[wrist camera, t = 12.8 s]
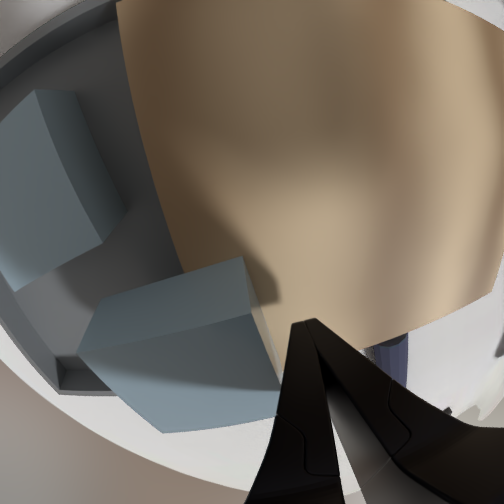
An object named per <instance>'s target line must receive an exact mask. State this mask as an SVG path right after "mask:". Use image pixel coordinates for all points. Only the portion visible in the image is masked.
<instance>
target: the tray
mask: <svg viewBox="0 0 504 504" xmlns="http://www.w3.org/2000/svg"><path fill="white" fill-rule="evenodd" d="M119 1H122V0H85V1H83V2H81V3H80V4H78V5H76V6H74V7H72V8H70V9H68V10H67V11H65V12H63V13H62V14H60V15H58V16H56V17H55V18H53V19H52V20H50V21H48V22H47V23H45V24H44V25H42V26H41V27H39V28H38V29H36V30H35V31H34V32H32V33H31V34H29V35H28V36H27V37H25V38H24V39H22V40H21V41H20V42H19V43H17V44H16V45H15V46H13V47H12V48H11V49H10V50H8V51H7V52H6V53H5V54H4V55H3V56H1V57H0V123H1V122H2V120H3V119H4V118H5V117H6V116H7V115H8V114H9V113H10V112H11V111H12V110H13V109H14V108H15V107H16V106H17V105H18V104H19V103H20V102H21V101H22V100H23V99H24V98H25V97H26V96H28V95H29V94H30V93H31V92H32V91H33V90H34V89H38V90H65V91H74V92H75V94H76V97H77V100H78V102H79V105H80V108H81V110H82V113H83V115H84V118H85V120H86V123H87V125H88V128H89V130H90V133H91V135H92V137H93V140H94V142H95V144H96V147H97V149H98V151H99V153H100V156H101V158H102V160H103V162H104V164H105V167H106V169H107V171H108V173H109V175H110V177H111V179H112V181H113V183H114V186H115V188H116V190H117V192H118V194H119V196H120V198H121V200H122V202H123V203H124V205H125V207H126V209H127V211H128V212H127V213H126V215H125V216H124V217H123V218H122V220H121V221H120V222H119V223H118V224H117V226H116V227H115V228H114V230H113V231H112V232H111V233H110V235H109V236H108V237H107V239H106V240H105V241H104V243H102V244H100V245H98V246H96V247H94V248H92V249H90V250H89V251H87V252H85V253H83V254H81V255H79V256H77V257H75V258H73V259H71V260H70V261H68V262H66V263H64V264H62V265H60V266H59V267H57V268H55V269H53V270H51V271H50V272H48V273H46V274H44V275H43V276H41V277H39V278H37V279H36V280H34V281H32V282H31V283H29V284H27V285H25V286H24V287H22V288H20V289H19V290H17V291H16V292H14V291H13V289H12V288H11V286H10V285H9V283H8V282H7V280H6V279H5V277H4V276H3V274H2V272H1V271H0V324H1V326H2V327H3V328H4V330H5V331H6V333H7V334H8V335H9V337H10V338H11V340H12V341H13V342H14V344H15V345H16V346H17V347H18V349H19V350H20V351H21V353H22V354H23V355H24V356H25V358H26V359H27V360H28V361H29V362H30V364H31V365H32V366H33V367H34V368H35V369H36V370H37V372H38V373H39V374H40V375H41V376H42V377H43V378H44V379H45V380H46V382H47V383H48V384H49V385H50V386H51V387H52V388H53V389H54V390H55V391H56V392H57V393H58V394H59V395H76V396H117V395H116V394H115V393H114V392H113V391H112V390H111V389H110V388H109V387H108V386H107V385H106V384H105V383H104V382H103V381H102V380H101V379H100V378H99V377H98V376H97V375H96V374H95V373H94V372H93V371H92V370H91V369H90V368H89V367H88V366H87V365H86V363H85V362H84V361H83V360H82V359H81V358H80V357H79V356H78V355H77V353H76V351H77V349H78V347H79V344H80V342H81V340H82V338H83V336H84V333H85V331H86V329H87V327H88V325H89V323H90V321H91V318H92V316H93V314H94V312H95V310H96V308H97V306H98V304H99V302H100V300H101V299H102V298H105V297H109V296H112V295H115V294H118V293H122V292H125V291H128V290H132V289H135V288H138V287H141V286H145V285H148V284H151V283H155V282H158V281H161V280H164V279H168V278H171V277H174V276H178V275H181V274H184V271H183V268H182V266H181V263H180V260H179V257H178V255H177V252H176V249H175V246H174V243H173V240H172V237H171V234H170V231H169V228H168V225H167V222H166V219H165V216H164V213H163V210H162V207H161V204H160V201H159V197H158V194H157V191H156V187H155V184H154V181H153V177H152V174H151V170H150V167H149V163H148V160H147V156H146V152H145V149H144V145H143V141H142V137H141V133H140V129H139V125H138V121H137V117H136V113H135V109H134V104H133V100H132V95H131V91H130V86H129V81H128V76H127V71H126V66H125V61H124V55H123V49H122V43H121V37H120V31H119V24H118V16H117V9H116V3H117V2H119Z"/></svg>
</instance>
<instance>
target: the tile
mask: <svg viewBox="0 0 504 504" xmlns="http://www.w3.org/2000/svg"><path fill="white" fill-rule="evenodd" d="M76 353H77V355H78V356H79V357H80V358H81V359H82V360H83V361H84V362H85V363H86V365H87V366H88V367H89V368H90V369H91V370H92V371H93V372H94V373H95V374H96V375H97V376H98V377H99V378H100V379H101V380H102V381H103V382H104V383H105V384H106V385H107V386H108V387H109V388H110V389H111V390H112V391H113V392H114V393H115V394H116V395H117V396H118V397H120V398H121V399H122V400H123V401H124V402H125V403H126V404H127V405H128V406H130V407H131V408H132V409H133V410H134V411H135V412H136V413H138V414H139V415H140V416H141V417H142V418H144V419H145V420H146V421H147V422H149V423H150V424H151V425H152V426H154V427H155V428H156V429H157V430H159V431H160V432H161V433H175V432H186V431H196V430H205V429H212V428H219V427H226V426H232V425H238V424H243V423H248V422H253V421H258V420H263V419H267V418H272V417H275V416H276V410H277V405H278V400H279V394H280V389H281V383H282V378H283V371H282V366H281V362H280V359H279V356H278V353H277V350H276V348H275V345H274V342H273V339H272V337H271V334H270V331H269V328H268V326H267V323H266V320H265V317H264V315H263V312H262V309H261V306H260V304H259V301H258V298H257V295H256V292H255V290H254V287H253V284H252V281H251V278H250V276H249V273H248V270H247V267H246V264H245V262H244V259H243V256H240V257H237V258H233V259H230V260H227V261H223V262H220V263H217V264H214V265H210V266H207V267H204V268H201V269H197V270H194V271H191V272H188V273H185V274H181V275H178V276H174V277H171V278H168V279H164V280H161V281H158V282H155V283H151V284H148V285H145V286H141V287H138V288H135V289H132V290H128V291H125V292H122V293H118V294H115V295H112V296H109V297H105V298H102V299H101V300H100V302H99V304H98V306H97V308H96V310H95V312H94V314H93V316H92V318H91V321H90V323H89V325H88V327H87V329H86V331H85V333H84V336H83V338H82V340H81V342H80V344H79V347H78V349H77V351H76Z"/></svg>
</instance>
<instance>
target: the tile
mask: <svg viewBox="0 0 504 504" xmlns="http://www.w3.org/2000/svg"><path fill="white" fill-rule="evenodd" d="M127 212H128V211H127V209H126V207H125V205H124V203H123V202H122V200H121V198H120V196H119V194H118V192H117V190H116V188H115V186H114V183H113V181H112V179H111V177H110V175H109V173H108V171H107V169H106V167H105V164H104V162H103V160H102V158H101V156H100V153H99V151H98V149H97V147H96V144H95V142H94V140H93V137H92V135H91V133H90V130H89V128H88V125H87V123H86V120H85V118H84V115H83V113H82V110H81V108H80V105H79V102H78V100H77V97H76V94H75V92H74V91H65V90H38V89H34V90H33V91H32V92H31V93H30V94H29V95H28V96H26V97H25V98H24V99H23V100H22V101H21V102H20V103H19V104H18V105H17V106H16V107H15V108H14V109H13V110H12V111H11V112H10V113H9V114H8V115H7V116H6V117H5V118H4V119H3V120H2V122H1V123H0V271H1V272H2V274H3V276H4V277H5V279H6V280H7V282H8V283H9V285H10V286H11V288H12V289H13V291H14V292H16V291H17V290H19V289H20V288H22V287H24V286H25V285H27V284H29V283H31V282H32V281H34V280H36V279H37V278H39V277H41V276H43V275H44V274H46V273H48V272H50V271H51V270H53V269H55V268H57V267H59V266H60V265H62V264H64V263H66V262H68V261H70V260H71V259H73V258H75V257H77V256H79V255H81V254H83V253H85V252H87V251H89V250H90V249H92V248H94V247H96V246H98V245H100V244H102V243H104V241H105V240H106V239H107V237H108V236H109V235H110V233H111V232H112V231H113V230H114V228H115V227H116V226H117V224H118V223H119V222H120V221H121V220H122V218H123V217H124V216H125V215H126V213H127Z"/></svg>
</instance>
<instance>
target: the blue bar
mask: <svg viewBox="0 0 504 504" xmlns="http://www.w3.org/2000/svg"><path fill="white" fill-rule="evenodd" d="M373 347H374V354H375V360H376V365H377V366H378V367H379V368H380V369H382V370H383V371H384V372H386V373H387V374H388V375H389V376H391V377H392V380H393V379H395V380H396V381H397V382H399V383H400V384H401V385H402V386H404V387H405V388H406V382H407V364H408V332H407V333H405V334H402V335H400V336H397V337H395V338H392V339H389V340H387V341H384V342H381V343H379V344H376V345H373ZM444 412H445V413H447V414H449V415H451V413H452V411H451V409H450V407H449V408H448V409H446V410H445V411H444Z"/></svg>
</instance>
